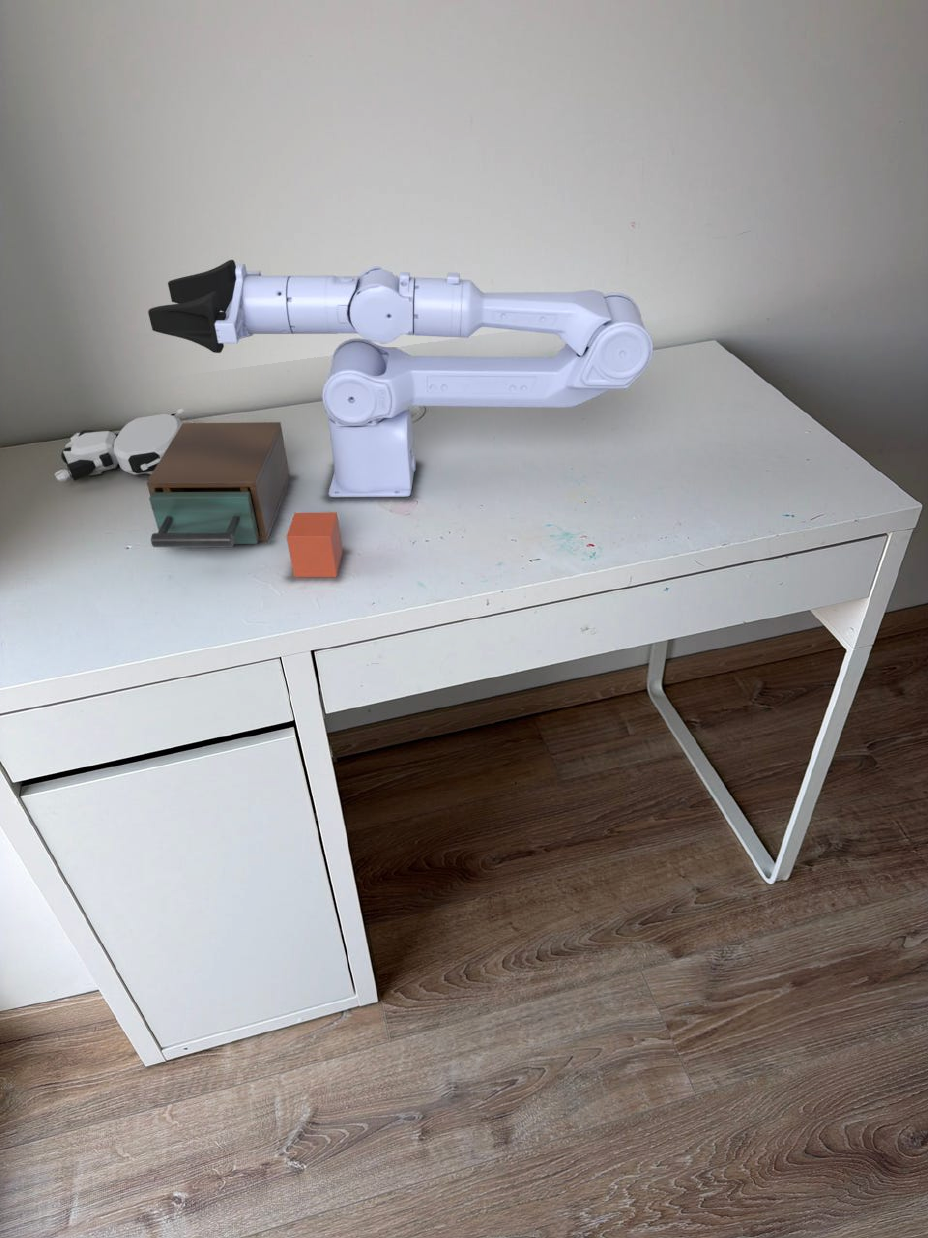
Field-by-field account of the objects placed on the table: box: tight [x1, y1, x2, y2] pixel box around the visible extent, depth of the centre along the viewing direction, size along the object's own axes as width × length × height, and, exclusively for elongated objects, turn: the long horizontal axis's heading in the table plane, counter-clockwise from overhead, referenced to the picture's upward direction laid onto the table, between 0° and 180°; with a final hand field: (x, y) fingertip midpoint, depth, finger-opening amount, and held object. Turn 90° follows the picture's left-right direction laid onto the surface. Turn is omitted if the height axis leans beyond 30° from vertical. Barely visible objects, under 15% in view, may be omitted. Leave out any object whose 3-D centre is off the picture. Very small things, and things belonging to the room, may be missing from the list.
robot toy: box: [54, 408, 185, 482], centre depth 108 cm, size 12×4×15 cm
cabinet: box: [146, 421, 291, 542], centre depth 98 cm, size 13×11×7 cm
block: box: [286, 511, 344, 578], centre depth 90 cm, size 4×4×5 cm
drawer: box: [148, 487, 259, 548], centre depth 95 cm, size 17×10×6 cm, turn 178°
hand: (161, 305), depth 92 cm, fingers open, 7 cm apart
